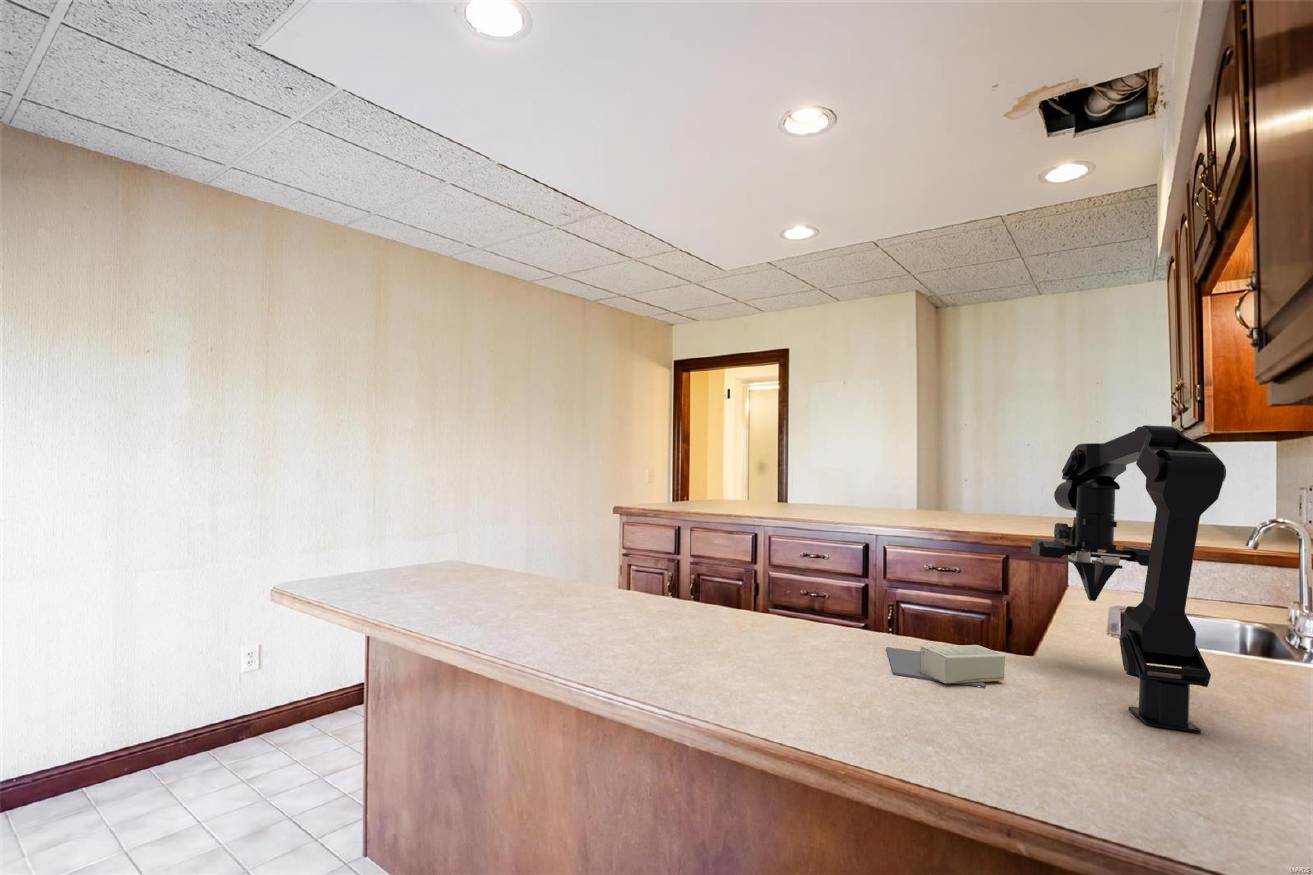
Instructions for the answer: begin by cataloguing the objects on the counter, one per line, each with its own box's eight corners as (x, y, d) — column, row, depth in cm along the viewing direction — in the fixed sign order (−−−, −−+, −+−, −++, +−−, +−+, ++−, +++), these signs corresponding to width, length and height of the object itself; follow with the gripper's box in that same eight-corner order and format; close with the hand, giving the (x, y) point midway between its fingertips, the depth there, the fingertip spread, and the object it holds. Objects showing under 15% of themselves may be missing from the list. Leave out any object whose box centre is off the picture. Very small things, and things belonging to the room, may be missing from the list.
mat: (985, 688, 102) (985, 685, 102) (893, 674, 106) (893, 672, 106) (966, 659, 117) (966, 657, 117) (886, 649, 121) (886, 646, 121)
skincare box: (976, 669, 111) (918, 672, 107) (977, 643, 111) (919, 645, 107) (1006, 681, 104) (945, 685, 101) (1006, 654, 105) (946, 657, 101)
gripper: (1135, 515, 120) (1132, 598, 119) (1024, 507, 125) (1021, 586, 124) (1164, 519, 109) (1161, 610, 108) (1042, 510, 114) (1038, 597, 113)
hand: (1091, 600), depth 114 cm, fingers closed
